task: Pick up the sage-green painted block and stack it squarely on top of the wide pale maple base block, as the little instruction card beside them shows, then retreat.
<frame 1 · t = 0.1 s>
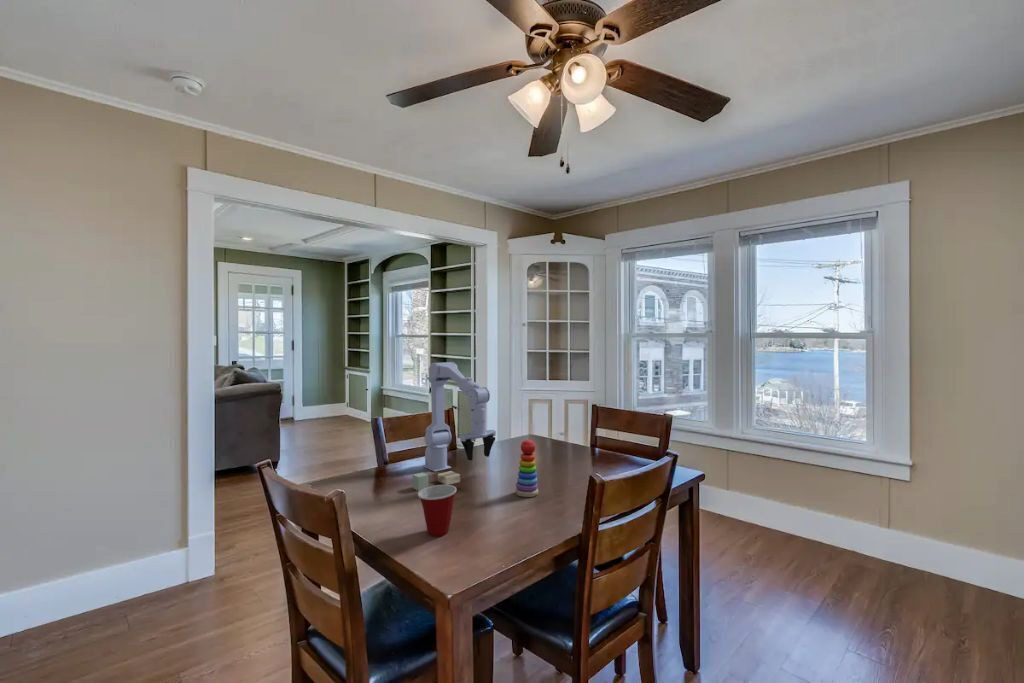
hand: (478, 457, 169), 10 cm above the table, fingers open, 7 cm apart
sage block: (420, 488, 166), on the table
stacking toy: (526, 494, 161), on the table
plastic cup: (437, 533, 130), on the table
maple base: (448, 482, 174), on the table
instruction card: (444, 489, 165), on the table
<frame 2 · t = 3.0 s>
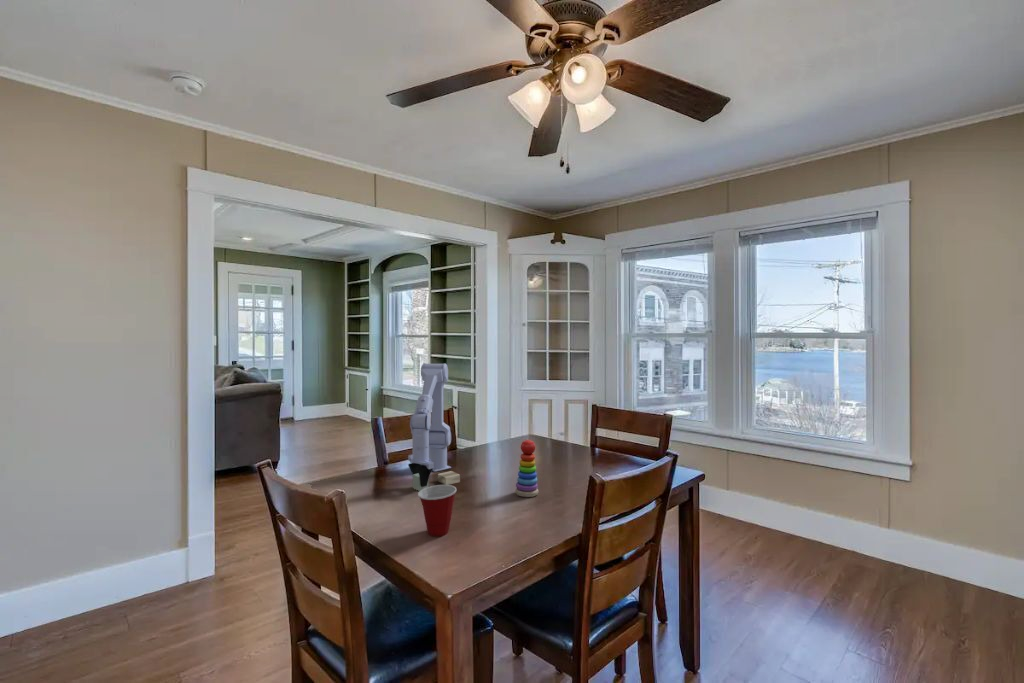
hand: (420, 484, 166), 1 cm above the table, fingers closed on sage block, 4 cm apart
sage block: (420, 488, 166), on the table, touching gripper
everything else where it was.
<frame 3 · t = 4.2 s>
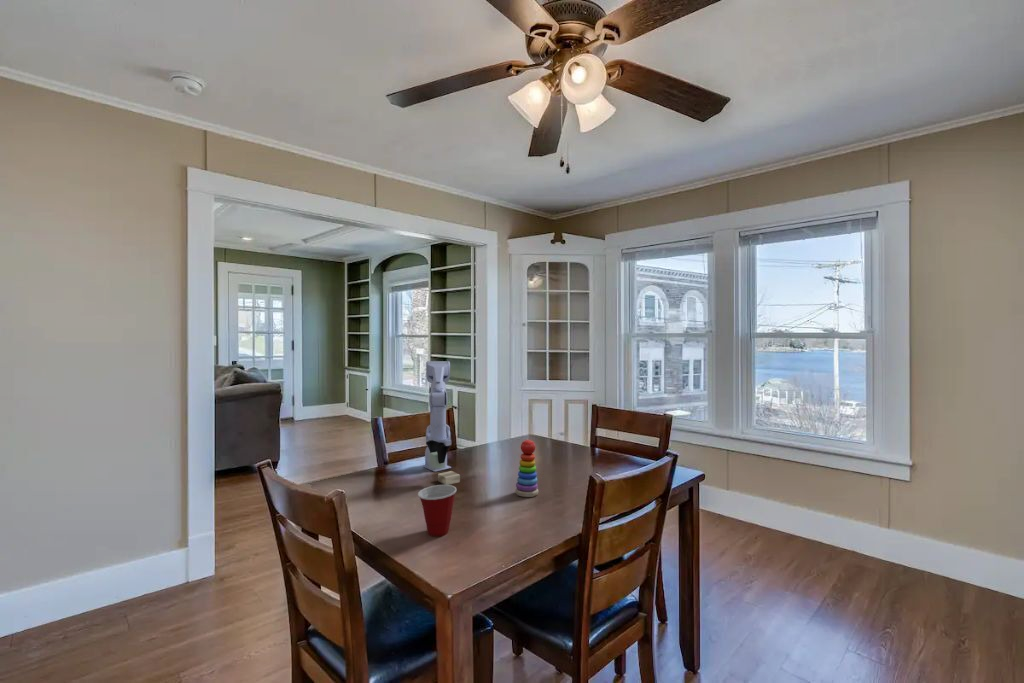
hand: (438, 461, 171), 8 cm above the table, fingers closed on sage block, 4 cm apart
sage block: (437, 466, 171), point 6 cm above the table, touching gripper
everything else where it was.
when the fingers open (5 cm above the table, at t = 5.9 s): sage block stays where it is, resting on maple base.
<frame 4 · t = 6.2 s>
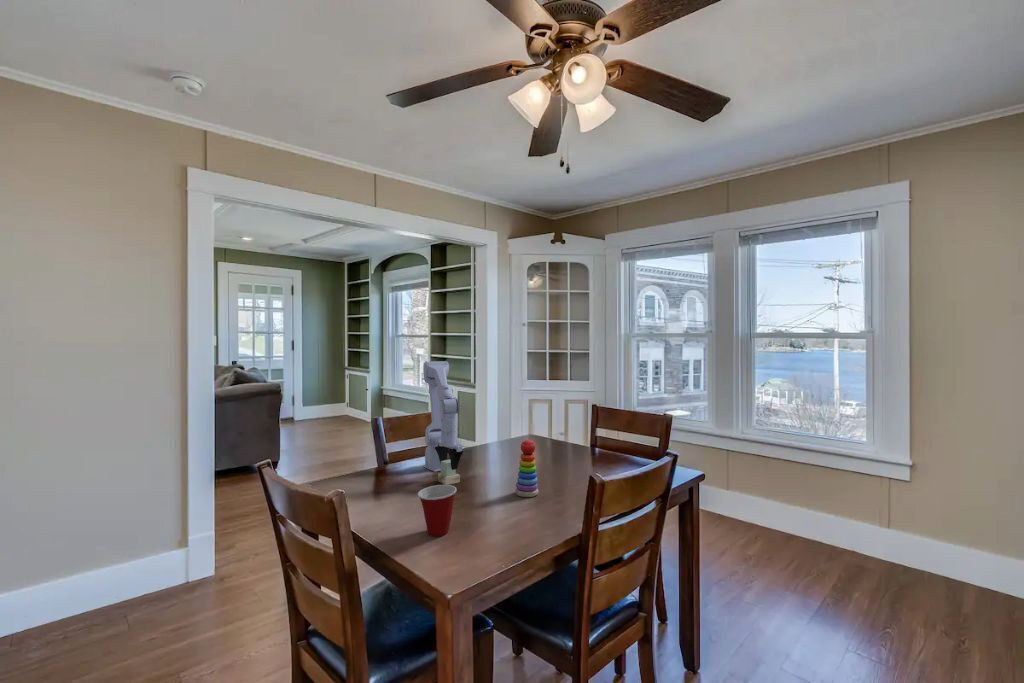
hand: (448, 467, 174), 5 cm above the table, fingers open, 7 cm apart
sage block: (448, 474, 174), point 3 cm above the table, touching maple base
maple base: (448, 482, 174), on the table, touching sage block
everything else where it was.
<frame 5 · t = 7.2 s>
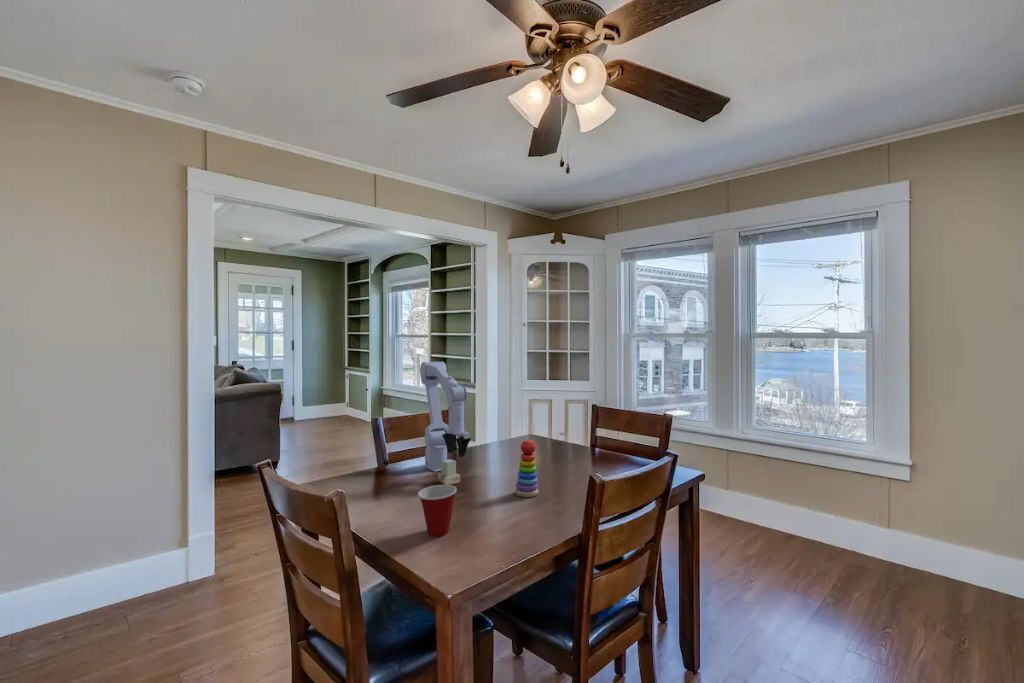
hand: (456, 454, 175), 10 cm above the table, fingers open, 7 cm apart
sage block: (448, 474, 174), point 3 cm above the table
maple base: (449, 482, 174), on the table
everything else where it was.
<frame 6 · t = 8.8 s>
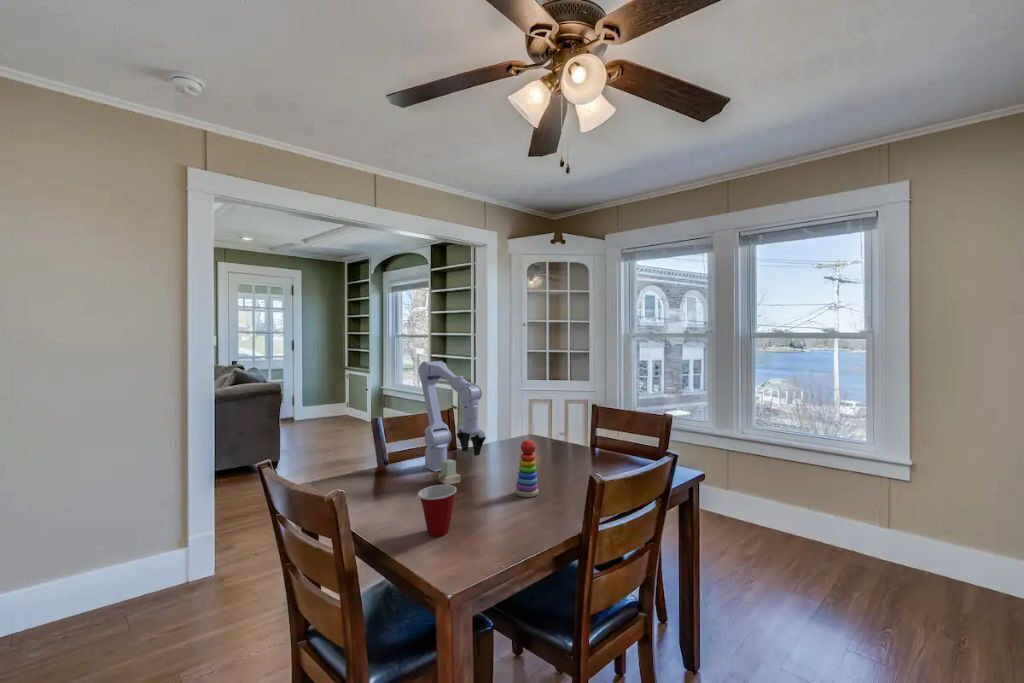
hand: (470, 453, 177), 10 cm above the table, fingers open, 7 cm apart
nothing on the table moved.
at the end: sage block 0.3 cm off-centre on the maple base, point 3.0 cm above the maple base's base; sage block tilted 1°; the gripper is holding nothing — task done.
